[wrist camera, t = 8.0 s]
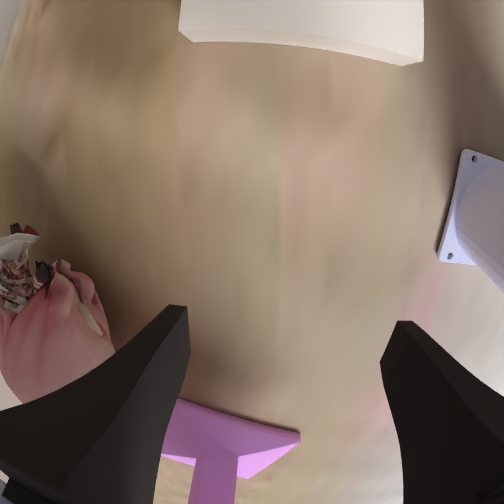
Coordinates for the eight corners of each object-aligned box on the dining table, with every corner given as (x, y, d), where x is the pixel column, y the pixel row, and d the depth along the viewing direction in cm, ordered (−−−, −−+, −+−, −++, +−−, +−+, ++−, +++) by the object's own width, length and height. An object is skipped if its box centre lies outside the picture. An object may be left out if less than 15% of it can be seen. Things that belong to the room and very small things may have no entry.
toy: (-21, 232, 19) (42, 368, 25) (-92, 281, 9) (14, 447, 15) (86, 191, 21) (142, 349, 27) (27, 228, 11) (139, 441, 17)
